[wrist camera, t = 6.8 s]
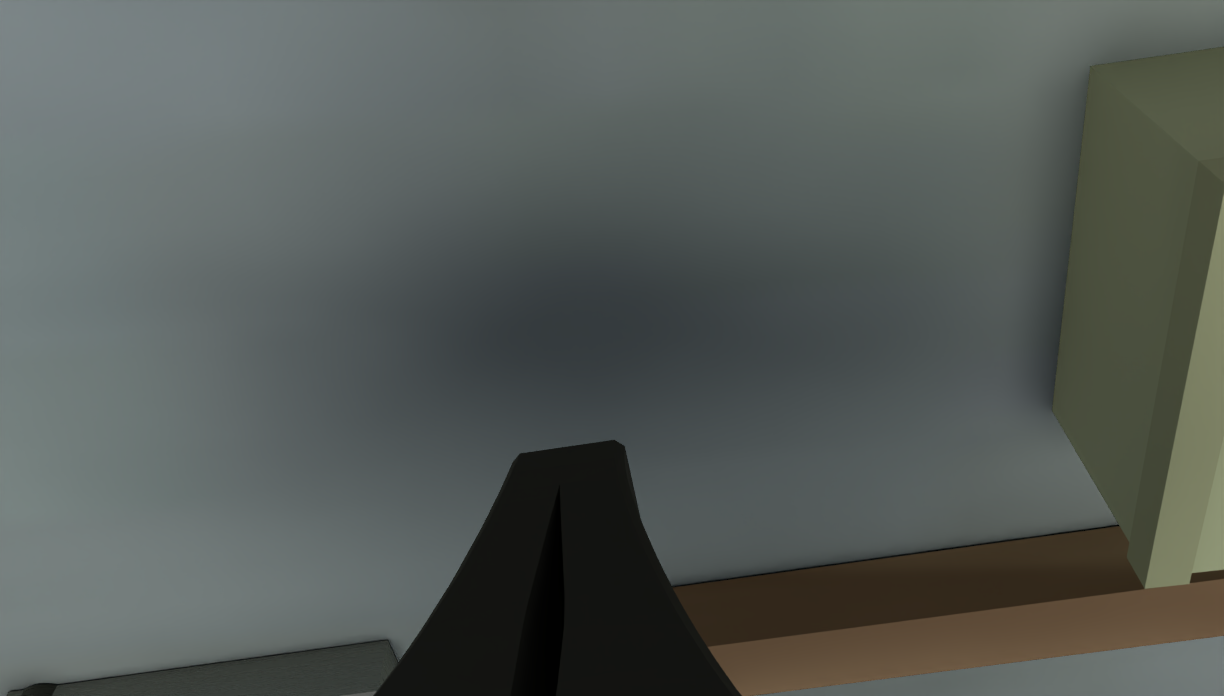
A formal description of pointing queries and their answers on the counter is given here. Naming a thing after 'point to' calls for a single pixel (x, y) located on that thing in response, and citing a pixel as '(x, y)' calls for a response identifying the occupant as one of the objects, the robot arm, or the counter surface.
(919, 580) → the bay
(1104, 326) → the box
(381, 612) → the counter surface
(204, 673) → the crank handle
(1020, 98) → the counter surface
